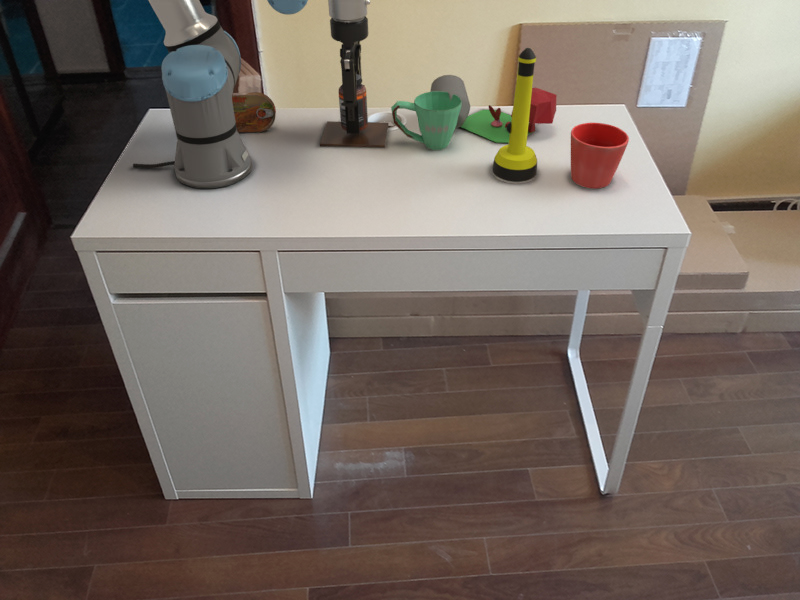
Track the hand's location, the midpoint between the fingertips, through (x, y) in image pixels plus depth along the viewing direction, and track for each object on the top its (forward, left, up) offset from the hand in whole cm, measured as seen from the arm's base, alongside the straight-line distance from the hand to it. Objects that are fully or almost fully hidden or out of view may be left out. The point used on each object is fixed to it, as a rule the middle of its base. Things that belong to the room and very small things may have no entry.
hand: (354, 125), depth 150 cm
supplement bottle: (0, 0, 0) cm, 0 cm away
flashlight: (+34, -15, -2) cm, 37 cm away
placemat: (0, 0, -2) cm, 2 cm away
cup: (+21, +1, 0) cm, 21 cm away
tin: (-25, +2, -2) cm, 25 cm away
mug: (+16, -4, -2) cm, 16 cm away
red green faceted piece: (+34, +5, -2) cm, 34 cm away
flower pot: (+49, -17, -2) cm, 52 cm away
